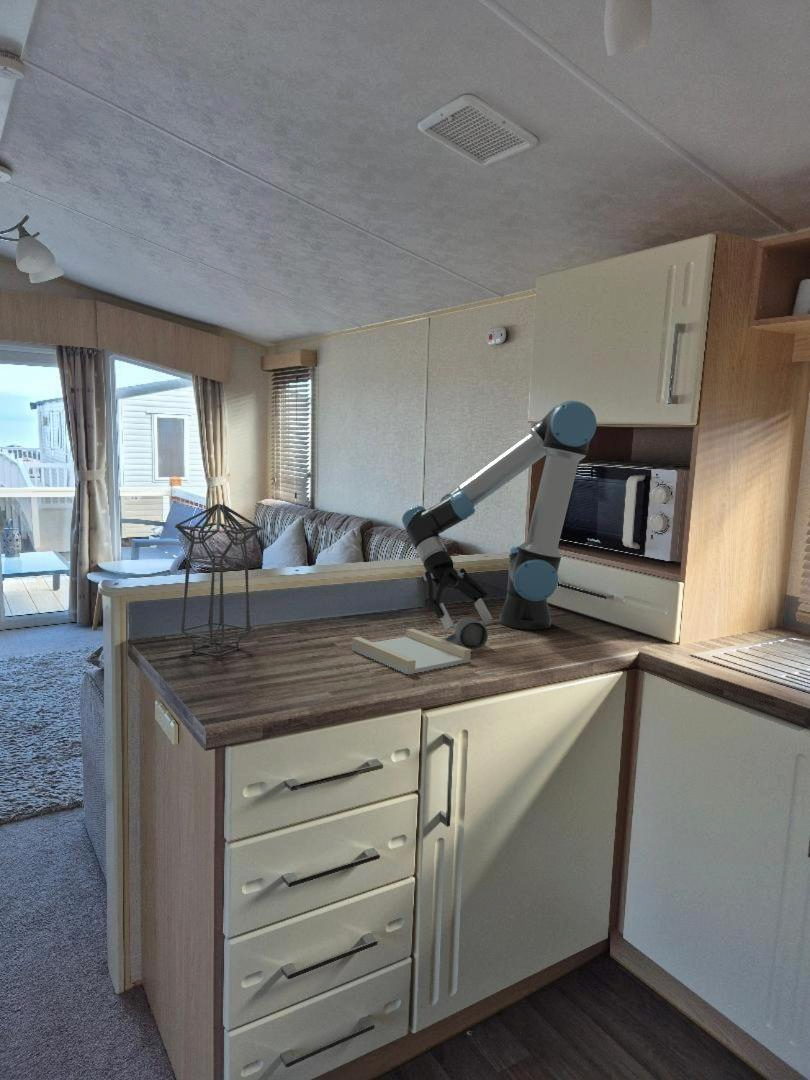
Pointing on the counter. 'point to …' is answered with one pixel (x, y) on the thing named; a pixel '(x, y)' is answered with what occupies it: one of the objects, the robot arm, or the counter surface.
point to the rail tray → (413, 652)
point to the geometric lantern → (227, 532)
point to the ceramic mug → (469, 634)
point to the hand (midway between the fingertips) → (469, 624)
